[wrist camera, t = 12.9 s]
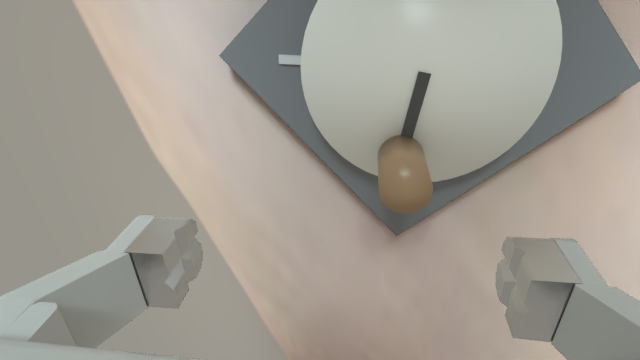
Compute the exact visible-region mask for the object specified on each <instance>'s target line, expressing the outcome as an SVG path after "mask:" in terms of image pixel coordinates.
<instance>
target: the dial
mask: <svg viewBox="0 0 640 360" xmlns="http://www.w3.org/2000/svg"><path fill="white" fill-rule="evenodd" d="M561 54H562V24H561V18H560V13H559V8H558V5H557V2H556V0H318V1H317V3H316V5H315V7H314V9H313V11H312V13H311V15H310V18H309V21H308V24H307V27H306V30H305V34H304V39H303V45H302V51H301V82H302V87H303V92H304V97H305V100H306V103H307V106H308V110H309V112H310V114H311V116H312V118H313V121H314V123H315V125H316V126H317V128H318V129H319V131H320V132H321V134H322V135H323V137H324V138H325V139H326V140H327V142H328V143H329V144H330V145H331V146H332V148H334V149H335V150H336V151H337V152H338V153H339V154H340V155H341V156H342V157H343V158H345V159H346V160H348V161H349V162H351V163H352V164H353V165H355V166H357V167H359V168H360V169H362V170H364V171H366V172H368V173H371V174H374V175H376V176H378V186H379V197H380V199H381V201H382V203H383V204H384V205H385V206H386V207H387V208H388V209H390V210H392V211H394V212H397V213H405V214H406V213H413V212H416V211H419V210H420V209H422V208H423V207H425V206H426V205H427V204H428V203H429V201H430V200H431V198H432V195H433V184H432V182H437V181H442V180H447V179H452V178H455V177H458V176H461V175H465V174H467V173H470V172H472V171H474V170H477V169H479V168H481V167H483V166H485V165H486V164H488V163H490V162H491V161H493V160H495V159H496V158H498V157H499V156H500V155H502V154H503V153H505V152H506V151H507V150H509V149H510V148H511V147H512V146H513V145H514V144H515V143H516V142H517V141H518V140H520V139H521V138H522V136H523V135H524V134H525V133H526V132H527V131H528V130H529V128H530V127H531V126H532V125H533V123H534V122H535V120H536V119H537V118H538V116H539V115H540V113H541V112H542V110H543V108H544V106H545V104H546V103H547V101H548V99H549V97H550V95H551V92H552V89H553V87H554V84H555V82H556V79H557V75H558V71H559V67H560V62H561Z"/></svg>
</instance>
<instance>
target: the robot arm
mask: <svg viewBox="0 0 640 360" xmlns="http://www.w3.org/2000/svg"><path fill="white" fill-rule="evenodd" d="M197 232H198V228H197V225H196V221H194V220H193V219H189V218H175V217H162V216H158V217H157V216H148V215H147V216H146V215H141V216H138V217H136V218H135V219H134V220H133V222H132V223H131V224H130V225H129V226H128V227H127V228H126V229H125V230H124V231H123V232H122V233H121V234H120V235H119V237H117V238H116V240H115V241H114V242H113V243H112V244H111V245H110V246H109V247H108V248H107V249H106V250H105V251H98V252H96V253H93V254H91V255H89V256H87V257H85V258H83V259H80V260H78V261H76V262H74V263H72V264H70V265H68V266H65V267H64V268H61V269H59V270H57V271H55V272H52V273H50V274H48V275H46V276H44V277H42V278H40V279H37V280H35V281H33V282H31V283H29V284H27V285H24V286H22V287H20V288H18V289H16V290H13V291H11V292H9V293H7V294H5V295H3V296H1V297H0V360H203V359H194V358H184V357H174V356H165V355H156V354H146V353H136V352H127V351H116V350H107V349H98V348H96V347H97V346H99V345H100V344H101V343H103V342H104V341H105V340H106V339H108V338H109V337H111V336H112V335H113V334H114V333H116V332H117V331H119V330H120V329H121V328H123V327H124V326H125V325H127V324H128V323H129V322H130V321H132V320H133V319H134V318H136V317H137V316H138V315H140V314H141V313H142V312H144V311H145V310H146V309H148V307H161V308H179V306H180V305H181V303H182V301H183V300H184V298H185V296H186V294H187V293H188V291H189V287H188V282H190V281H192V280H193V279H195V278H196V277H197V275H198V273H199V271H200V269H201V265H202V261H203V251H202V246H201V244H200V243H199V242H198V241H197V240H196V239H195V236H196V234H197ZM502 252H503V254H504V257H505V258H504V259H503V260H502V261H501V262H499V263H498V266H497V271H496V289H497V294H498V297H499V300H500V301H501V302H502V303H503V304H504V305H505V306H507V309H506V313H505V317H506V320H507V323H508V325H509V328H510V331H511V334H512V337H513V338H519V339H528V340H537V341H546V342H552V345H553V346H554V347H555V348H556V349H557V350H558V351H559V352H560V353H561V354H562V355H563V356H564V357H565V358H566V359H567V360H640V301H639V300H637V299H635V298H634V297H632V296H630V295H629V294H627V293H625V292H624V291H622V290H620V289H619V288H617V287H611V286H608V285H607V283H606V282H605V280H604V279H603V278H602V276H601V275H600V273H599V272H598V271H597V269H596V268H595V266H594V265H593V263H592V262H591V261H590V259H589V258H588V256H587V255H586V254H585V252H584V251H583V249H582V248H581V247H580V245H579V244H578V242H577V241H575V240H573V239H557V238H550V239H541V238H521V237H506V239H505V241H504V243H503V247H502Z"/></svg>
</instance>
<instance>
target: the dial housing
mask: <svg viewBox="0 0 640 360" xmlns="http://www.w3.org/2000/svg"><path fill="white" fill-rule="evenodd" d="M317 1H318V0H268V1H267V3H266V4H265V5H264V6H263V7H262V8H261V9H260V10H259V11H258V13H257V14H256V15H255V16H254V17H253V18H252V19H251V20H250V22H249V23H248V24H247V25H246V26H245V27H244V28H243V29H242V31H241V32H240V33H239V34H238V35H237V36H236V37H235V38H234V40H233V41H232V42H231V43H230V44H229V45H228V46H227V47H226V49H225V50H224V51H223V52H222V53H221V54H220V55H219V56H220V57H221V58H222V59H223V60H224V61H225V62H226V63H227V64H228V65H229V66H230V67H231V68H232V69H233V70H234V71H235V72H236V73H237V74H238V75H239V76H240V77H241V78H242V79H243V80H244V81H245V82H246V83H247V84H248V85H249V86H250V87H251V88H252V89H253V90H254V92H255V93H256V94H257V95H258V96H259V97H260V98H261V99H262V100H263V101H264V102H265V103H266V104H267V105H268V106H269V107H270V108H271V109H272V110H273V111H274V112H275V113H276V114H277V115H278V116H279V117H280V118H281V119H282V120H283V121H284V122H285V123H286V124H287V125H288V126H289V127H290V128H291V129H292V130H293V131H294V132H295V133H296V134H297V135H298V136H299V137H300V138H301V139H302V140H303V141H304V142H305V143H306V144H307V145H308V146H309V147H310V148H311V149H312V150H313V151H314V152H315V154H316V155H317V156H318V157H319V158H320V159H321V160H322V161H323V162H324V163H325V164H326V165H327V166H328V167H329V168H330V169H331V170H332V171H333V172H334V173H335V174H336V175H337V176H338V177H339V178H340V179H341V180H342V181H343V182H344V183H345V184H346V185H347V186H348V187H349V188H350V189H351V190H352V191H353V192H354V193H355V194H356V195H357V196H358V197H359V198H360V199H361V200H362V201H363V202H364V203H365V204H366V205H367V206H368V207H369V208H370V209H371V210H372V211H373V212H374V213H375V214H376V216H377V217H378V218H379V219H380V220H381V221H382V222H383V223H384V224H385V225H386V226H387V227H388V228H389V229H390V230H391V231H392V232H393V233H394V234H395V235H396V236H397V235H399V234H400V233H402V232H403V231H405V230H406V229H408V228H410V227H411V226H413V225H414V224H416V223H417V222H419V221H421V220H422V219H424V218H425V217H427V216H428V215H430V214H432V213H433V212H435V211H436V210H438V209H439V208H441V207H443V206H444V205H446V204H447V203H449V202H450V201H452V200H454V199H455V198H457V197H458V196H460V195H461V194H463V193H465V192H466V191H468V190H469V189H471V188H472V187H474V186H476V185H477V184H479V183H480V182H482V181H484V180H485V179H487V178H488V177H490V176H491V175H493V174H495V173H496V172H498V171H499V170H501V169H502V168H504V167H506V166H507V165H509V164H510V163H512V162H513V161H515V160H517V159H518V158H520V157H521V156H523V155H524V154H526V153H528V152H529V151H531V150H532V149H534V148H535V147H537V146H539V145H540V144H542V143H543V142H545V141H546V140H548V139H550V138H551V137H553V136H554V135H556V134H557V133H559V132H561V131H562V130H564V129H565V128H567V127H569V126H570V125H572V124H573V123H575V122H576V121H578V120H580V119H581V118H583V117H584V116H586V115H587V114H589V113H591V112H592V111H594V110H595V109H597V108H598V107H600V106H602V105H603V104H605V103H606V102H608V101H609V100H611V99H613V98H614V97H616V96H617V95H619V94H620V93H622V92H624V91H625V90H627V89H628V88H630V87H631V86H633V85H635V84H636V83H638V82H639V81H640V69H639V68H638V66H637V64H636V63H635V61H634V59H633V58H632V56H631V54H630V53H629V51H628V50H627V48H626V46H625V45H624V43H623V41H622V40H621V38H620V36H619V35H618V33H617V31H616V30H615V28H614V27H613V25H612V23H611V22H610V20H609V18H608V17H607V15H606V13H605V12H604V10H603V9H602V7H601V5H600V4H599V2H598V0H556V2H557V5H558V8H559V13H560V18H561V24H562V54H561V62H560V67H559V71H558V75H557V79H556V82H555V84H554V87H553V89H552V92H551V95H550V97H549V99H548V101H547V103H546V104H545V106H544V108H543V110H542V112H541V113H540V115H539V116H538V118H537V119H536V120H535V122H534V123H533V125H532V126H531V127H530V128H529V130H528V131H527V132H526V133H525V134H524V135H523V136H522V138H521V139H520V140H518V141H517V142H516V143H515V144H514V145H513V146H512V147H511V148H510V149H509V150H507V151H506V152H505V153H503V154H502V155H500V156H499V157H498V158H496V159H495V160H493V161H491V162H490V163H488V164H486V165H485V166H483V167H481V168H479V169H477V170H474V171H472V172H470V173H467V174H465V175H461V176H458V177H455V178H452V179H447V180H442V181H437V182H432V184H433V195H432V198H431V200H430V201H429V203H428V204H427V205H426V206H425V207H423V208H422V209H420V210H419V211H416V212H413V213H406V214H405V213H397V212H394V211H392V210H390V209H388V208H387V207H386V206H385V205H384V204H383V203H382V201H381V199H380V197H379V186H378V176H376V175H374V174H371V173H368V172H366V171H364V170H362V169H360V168H359V167H357V166H355V165H353V164H352V163H351V162H349V161H348V160H346V159H345V158H343V157H342V156H341V155H340V154H339V153H338V152H337V151H336V150H335V149H334V148H332V146H331V145H330V144H329V143H328V142H327V140H326V139H325V138H324V137H323V135H322V134H321V132H320V131H319V129H318V128H317V126H316V125H315V123H314V121H313V118H312V116H311V114H310V112H309V110H308V106H307V103H306V100H305V97H304V92H303V87H302V82H301V51H302V45H303V39H304V34H305V30H306V27H307V24H308V21H309V18H310V15H311V13H312V11H313V9H314V7H315V5H316V3H317Z"/></svg>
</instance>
